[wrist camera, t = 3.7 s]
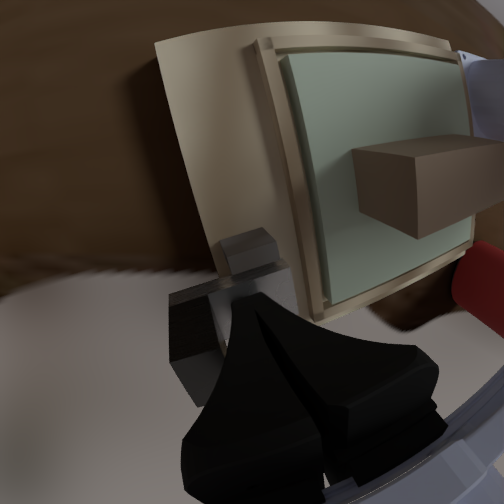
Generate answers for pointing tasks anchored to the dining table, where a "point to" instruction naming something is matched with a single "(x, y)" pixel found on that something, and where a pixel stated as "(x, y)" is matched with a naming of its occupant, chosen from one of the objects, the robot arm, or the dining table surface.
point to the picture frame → (270, 146)
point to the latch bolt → (217, 322)
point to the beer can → (481, 284)
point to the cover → (387, 163)
